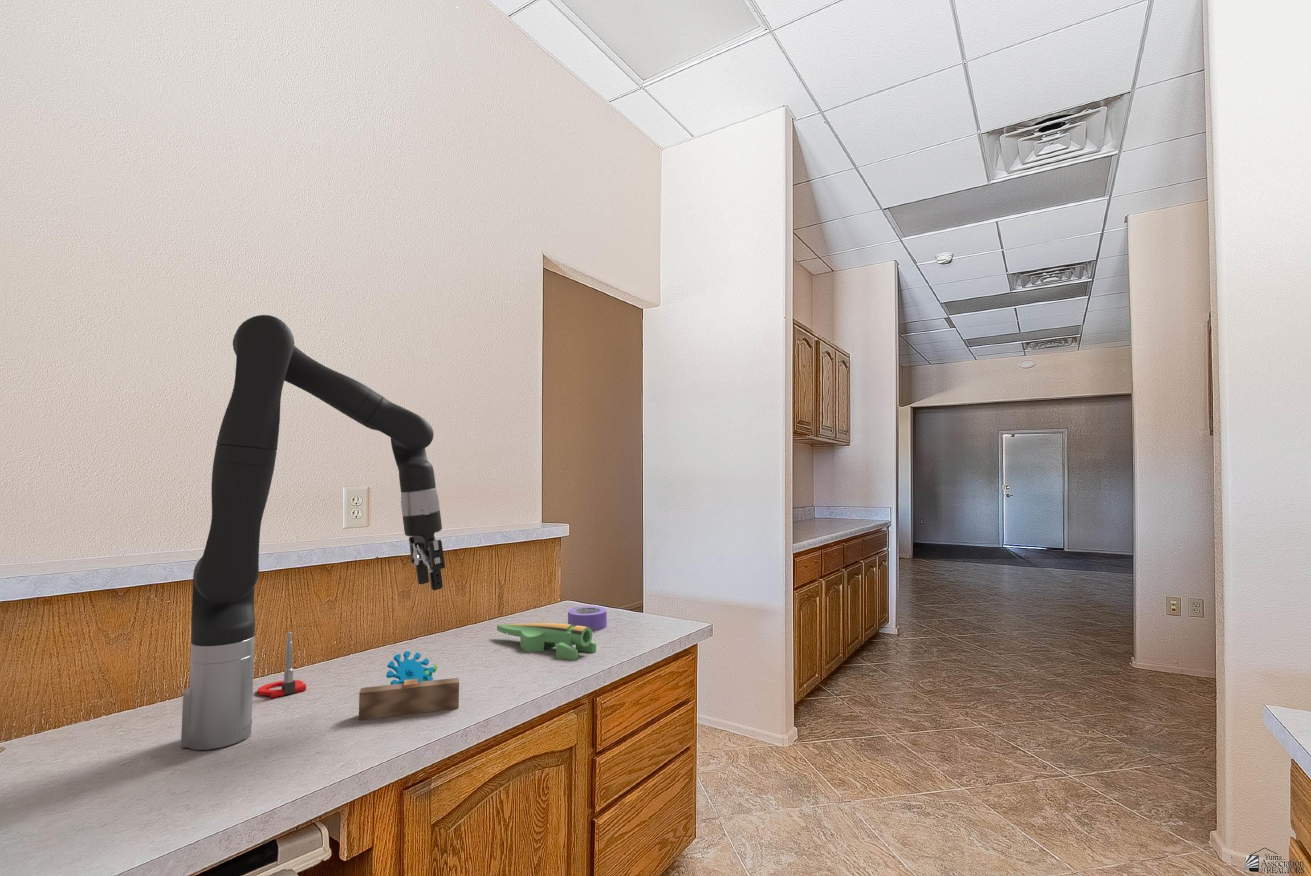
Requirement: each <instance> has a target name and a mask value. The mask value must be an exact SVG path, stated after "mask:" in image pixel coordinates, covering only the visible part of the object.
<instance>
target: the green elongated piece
mask: <svg viewBox="0 0 1311 876" xmlns="http://www.w3.org/2000/svg"><path fill="white" fill-rule="evenodd" d="M496 631H498V632H499V633H502V634H505V635H509V636H514V637H518V638H520V641H519V646H520V648H521V649H522V651H525V652H527V653H529V652H530V653H531V652H544V651H545V646H546V645H548V646H550V647H552V646H553V647H556V649H555V657H556V658H557V659H563V660H569V661H575V660H578V659H579V652H585V653H586V652H587V653H595V652H597V643H596V642H595V641H594V640H593V631H592V630H591V628H589V627H584V626H578V625H577V626H574V625H570V624H568V623H567V624H566V623H551V622H549V623H547V622H546V623H543V622H542V623H541V622H540V623H509V624H505V623H504V624H497V625H496ZM574 646H575V647H574Z"/></svg>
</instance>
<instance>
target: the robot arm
mask: <svg viewBox="0 0 1311 876" xmlns="http://www.w3.org/2000/svg"><path fill="white" fill-rule="evenodd" d="M292 332H293V331H292V330H291V328H290V327H289V326H288V325H287V324H286V322H285V321H283V320H281V319H280V318H278V317H276V316H273V315H268V314H259V315H256V316H252V317H249V318H248V319H246V320H245V321H243V322H241V324H240V325H239V326H238V328H237V330H236V332H235V333H234V335H233V339H232V348H233V353H234V354H235V356H236V357H235V358H236V359H235V360H236V361H235V373H234V374H235V376H234V382H233V383H234V384H233V388H232V392H231V397H230V399H229V402H228V405H227V407H226V409H225V412H224V415H223V417H222V422H221V425H220V428H219V432H218V435H217V439H216V445H215V451H214V456H213V462H212V463H213V464H212V472H211V493H210V494H211V521H210V525H209V526H210V527H209V532H208V536H207V539H206V543H205V546H204V551H203V554H202V556H201V557H200V558H199V559H198V561H197V562H196V564H195V567H194V569H193V577H192V593H191V595H192V596H191V624H190V625H191V635H190V636H191V639H190V662H189V666H190V667H189V668H190V669H189V686H188V687H187V688H184V690H183V692H182V707H181V708H182V712H181V713H182V715H181V734H180V748H181V749H183V748H186V749H187V748H188V749H190V750H197V751H204V750H205V751H206V750H216V749H219V748H220V749H221V748H224V747H229V746H232V745H234V744H237V743H240V742H242V741H243V740H245V739H247V738H248V737H249V736H250V735H251V733H252V723H253V717H252V716H253V693H254V692H253V691H254V689H253V688H254V668H255V667H254V663H255V638H256V637H255V635H256V616H255V587H256V584H257V583H258V580H259V575H260V574H259V572H260V571H259V570H260V569H259V568H260V565H259V564H260V563H259V562H260V559H259V558H260V538H261V537H260V535H261V525H262V519H263V516H264V513H265V512H264V511H265V509H266V505H267V502H268V498H269V493H270V490H271V489H270V488H271V484H272V481H273V480H272V479H273V475H274V470H275V465H276V461H277V460H276V458H277V453H278V452H277V451H278V445H279V443H278V442H279V435H280V425H281V424H280V421H281V402H282V401H281V399H282V393H283V387H284V384H285V382H286V383H289V384H290V385H293V386H295V387H297V388H299V389H301V390H303V391H304V392H306V393H308V394H311V396H314V397H315V398H318V400H320V401H322V402H324V403H326V404H327V405H329V406H330V407H332V408H334V409H335V410H337V411H338V412H340V413H342V414H344V415H345V416H346V417H349V418H350V419H351V420H354V421H355V422H357V423H358V424H359V425H362V426H364V427H366V428H368V429H369V430H373V431H378V432H380V433H382V434H384V435H386V436H388V438H389V437H390V445H391V449H392V454H393V457H394V460H395V463H396V466H397V470H398V479H399V480H398V481H399V487H400V506H401V507H400V508H401V515H402V522H403V523H402V525H403V530H404V531H403V532H404V535H405V536H406V537H408V542H409V550H410V562H411V563H412V564H413V567H415V568H416V569H415V571H416V576H417V577H416V578H417V583H418V584H419V585H424V584H428V583H430V589H431V590H432V591H437V590H441V589H442V588H443V587H444V586H443V585H444V584H443V576H442V570H443V569H445V568H446V563H445V557H444V556H445V555H444V549H443V548H444V547H443V543H442V539H437V540H436V536H435V534H436V533H438V532H440V531H442V529H443V523H442V517H441V509H440V500H439V496H438V495H439V494H438V491H437V486H436V485H437V483H436V478H435V470H434V467H433V465H432V463H430V461H429V460H428V456H427V451H426V448H427V447H429V446H430V445H431V443H432V442H433V440H434V436H435V435H434V429H433V427H432V425H431V424H430V422H428V421H427V420H426V419H425V418H423V417H422V416H420V415H419V414H418V413H415V412H413V411H411V410H409V409H407V408H405V407H403V406H400V405H399V404H396V403H394V402H392V401H390V400H388V399H387V398H385V396H383V395H381V394H379V393H378V392H376V391H375V390H374V389H371V388H370V387H368V386H367V385H365V384H364V383H362V382H360V381H358V380H356V379H355V378H353V377H350V376H348V375H345V374H343V373H341V372H338V371H336V370H333V369H332V368H330V367H327V366H325V365H324V364H322V363H320V362H318V361H316V360H315V359H313V358H312V357H310V356H309V355H307V354H306V353H304V352H303V351H302V350H301V349H299V348H298V347H297V346H296V345H295V338H294V335H293V333H292Z"/></svg>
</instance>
